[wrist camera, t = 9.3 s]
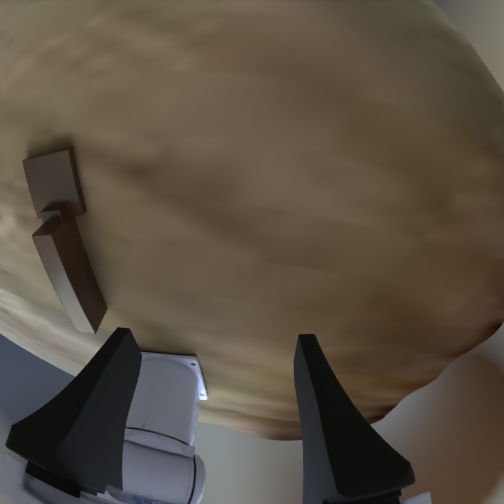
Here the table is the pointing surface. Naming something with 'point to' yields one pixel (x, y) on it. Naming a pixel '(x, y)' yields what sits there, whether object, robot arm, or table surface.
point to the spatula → (64, 236)
